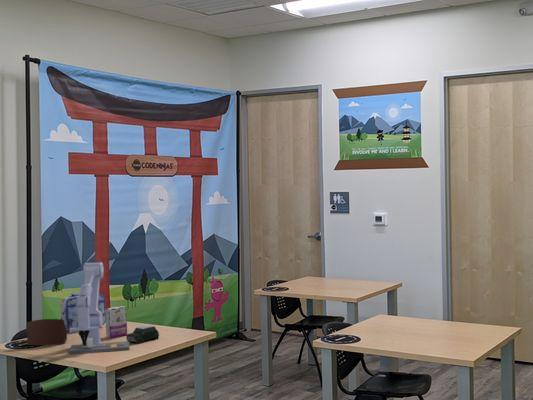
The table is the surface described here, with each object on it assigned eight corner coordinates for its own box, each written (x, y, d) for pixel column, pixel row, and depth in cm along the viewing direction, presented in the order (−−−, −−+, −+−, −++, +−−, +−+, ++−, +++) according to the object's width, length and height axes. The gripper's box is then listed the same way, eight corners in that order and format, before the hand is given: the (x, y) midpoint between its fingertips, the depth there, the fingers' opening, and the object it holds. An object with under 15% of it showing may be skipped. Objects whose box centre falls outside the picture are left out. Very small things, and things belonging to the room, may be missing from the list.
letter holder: (65, 344, 387) (64, 318, 387) (27, 346, 384) (26, 320, 384) (67, 340, 397) (66, 315, 397) (30, 342, 394) (29, 317, 394)
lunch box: (66, 334, 414) (65, 296, 414) (58, 331, 422) (56, 294, 422) (108, 326, 433) (106, 290, 432) (99, 324, 440) (98, 289, 440)
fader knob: (87, 345, 370) (87, 338, 370) (92, 345, 371) (92, 337, 371) (87, 347, 366) (87, 339, 366) (92, 347, 367) (91, 339, 366)
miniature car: (124, 342, 386) (124, 328, 386) (150, 337, 399) (150, 322, 399) (135, 344, 380) (134, 329, 380) (161, 338, 394) (160, 324, 393)
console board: (71, 348, 375) (71, 345, 375) (129, 344, 381) (129, 341, 381) (69, 354, 362) (69, 350, 362) (129, 349, 367) (129, 346, 367)
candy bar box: (123, 334, 409) (122, 305, 409) (127, 335, 405) (126, 306, 405) (105, 337, 402) (104, 308, 401) (110, 338, 398) (109, 309, 398)
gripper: (68, 321, 362) (69, 347, 363) (97, 319, 365) (98, 345, 365) (69, 319, 369) (70, 345, 370) (98, 317, 372) (99, 343, 372)
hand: (84, 345), depth 368 cm, fingers closed
